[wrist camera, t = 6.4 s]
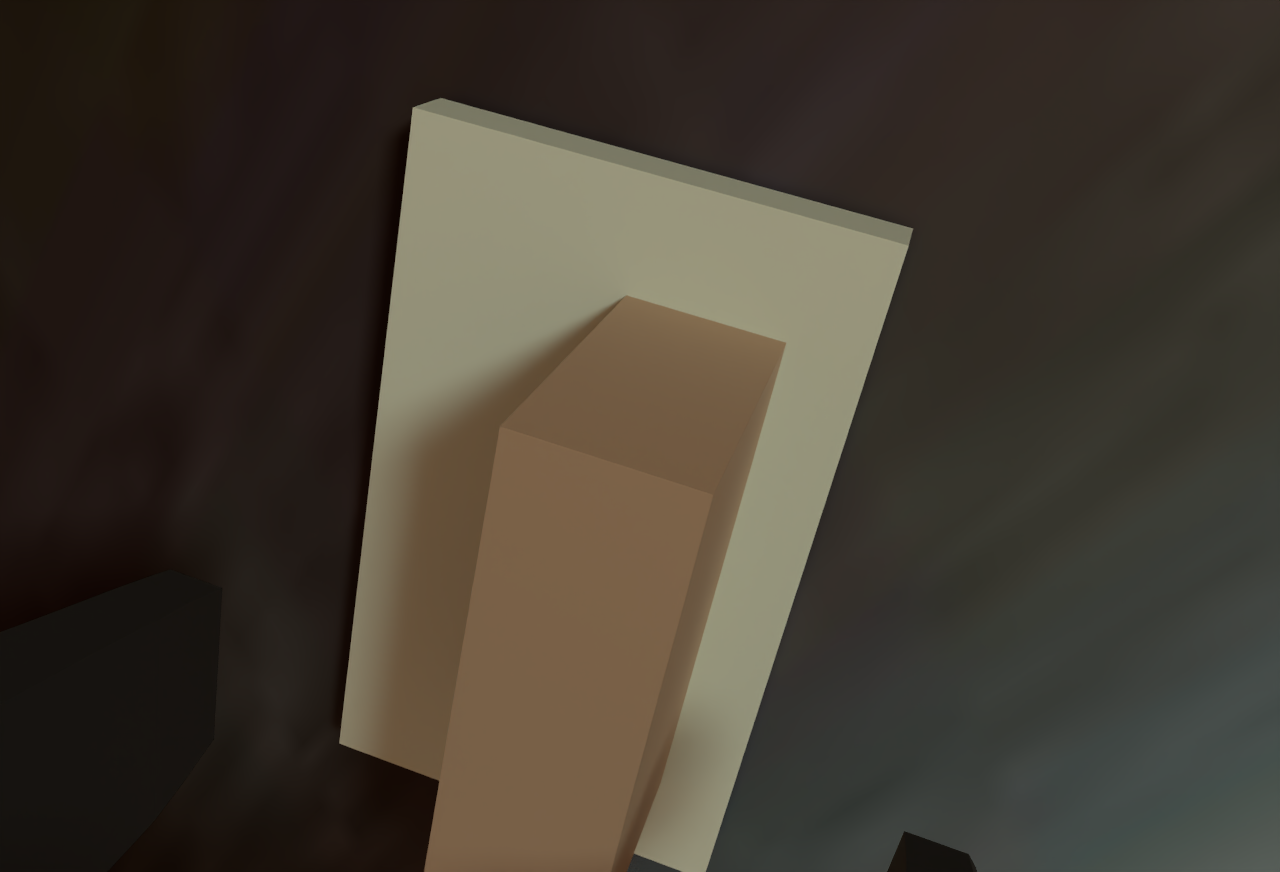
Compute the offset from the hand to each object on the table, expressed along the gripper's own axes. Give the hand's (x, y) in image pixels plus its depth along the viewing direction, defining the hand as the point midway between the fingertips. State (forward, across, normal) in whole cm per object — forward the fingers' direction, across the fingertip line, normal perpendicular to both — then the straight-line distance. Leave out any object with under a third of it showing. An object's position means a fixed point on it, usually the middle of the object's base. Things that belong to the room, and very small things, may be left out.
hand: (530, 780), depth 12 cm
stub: (+5, +1, 0) cm, 5 cm away
